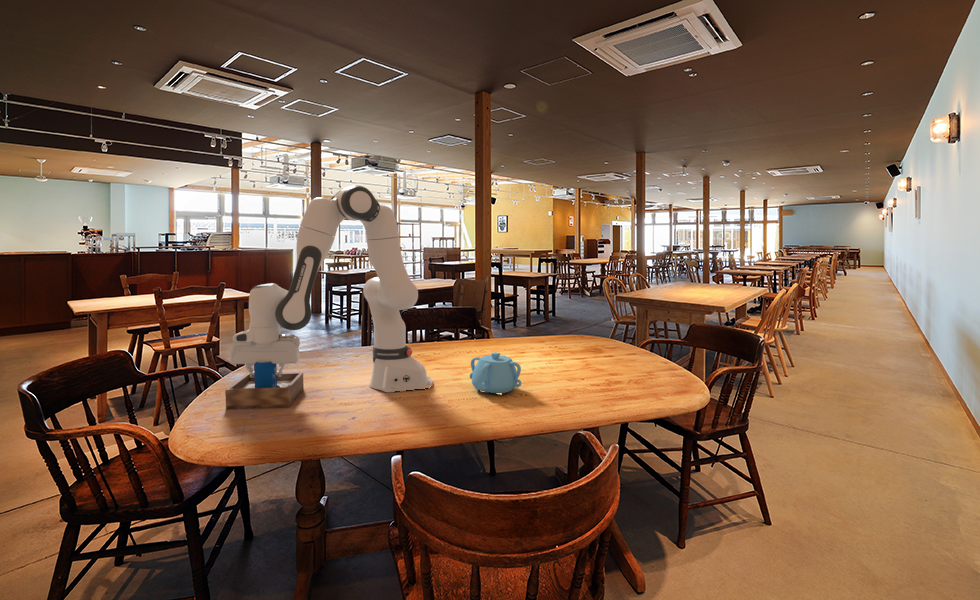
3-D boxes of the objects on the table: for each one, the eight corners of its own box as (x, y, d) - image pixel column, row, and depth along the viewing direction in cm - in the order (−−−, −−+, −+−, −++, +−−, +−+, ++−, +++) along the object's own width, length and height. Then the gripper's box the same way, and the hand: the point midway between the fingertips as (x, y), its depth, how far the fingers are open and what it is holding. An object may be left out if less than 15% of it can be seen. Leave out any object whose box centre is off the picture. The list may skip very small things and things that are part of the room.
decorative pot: (510, 383, 174) (511, 347, 172) (523, 396, 158) (524, 357, 156) (468, 385, 170) (468, 348, 168) (476, 398, 154) (477, 358, 153)
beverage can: (268, 400, 145) (267, 362, 144) (250, 398, 146) (249, 361, 145) (281, 393, 151) (280, 357, 150) (263, 392, 152) (262, 356, 151)
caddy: (303, 389, 159) (303, 372, 159) (289, 407, 142) (288, 388, 141) (247, 390, 157) (247, 373, 156) (226, 409, 139) (225, 389, 138)
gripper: (301, 332, 151) (302, 373, 153) (235, 332, 148) (236, 374, 150) (296, 336, 145) (297, 379, 147) (227, 336, 142) (228, 380, 144)
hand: (266, 376), depth 148 cm, fingers closed on beverage can, 6 cm apart
